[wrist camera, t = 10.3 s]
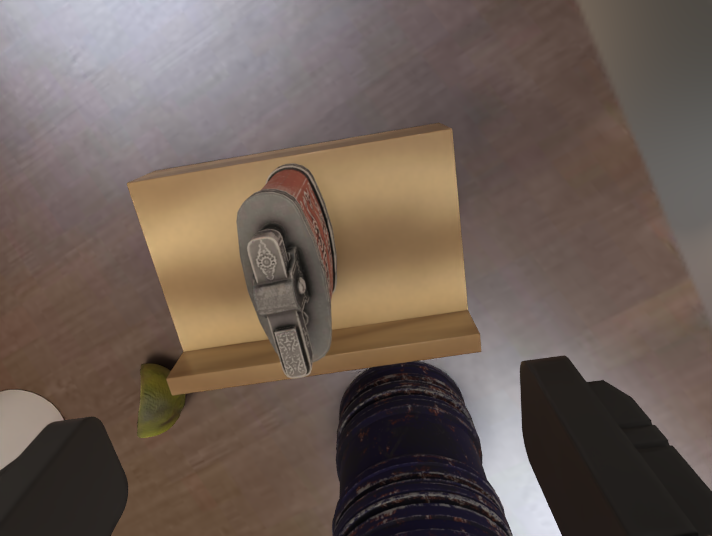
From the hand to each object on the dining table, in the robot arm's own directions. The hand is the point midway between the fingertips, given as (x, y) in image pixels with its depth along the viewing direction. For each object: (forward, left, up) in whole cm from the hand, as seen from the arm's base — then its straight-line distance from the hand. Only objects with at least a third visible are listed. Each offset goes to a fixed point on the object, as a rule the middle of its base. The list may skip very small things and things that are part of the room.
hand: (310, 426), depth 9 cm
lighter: (+2, -2, -19) cm, 19 cm away
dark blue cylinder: (+18, +2, -23) cm, 29 cm away
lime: (+12, -15, -23) cm, 30 cm away
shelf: (+3, -2, -23) cm, 23 cm away
